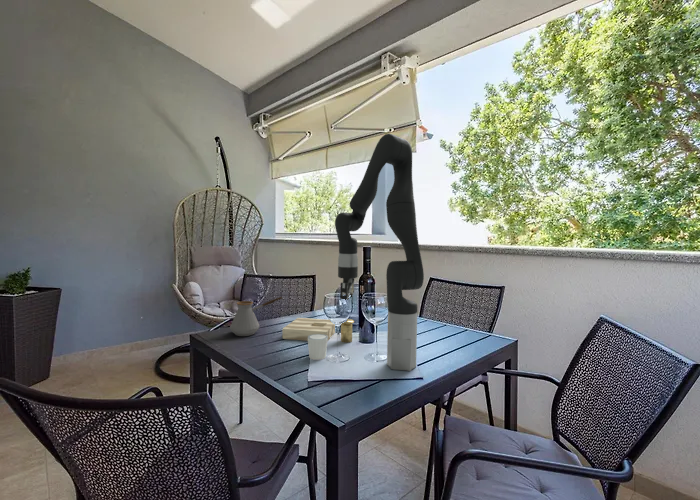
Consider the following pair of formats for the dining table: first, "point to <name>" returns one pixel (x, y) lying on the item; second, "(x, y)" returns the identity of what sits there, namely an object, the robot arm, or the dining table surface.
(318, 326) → the jig
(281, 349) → the dining table surface
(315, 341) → the shot glass
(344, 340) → the bushing
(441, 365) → the dining table surface
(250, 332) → the coffee pot
